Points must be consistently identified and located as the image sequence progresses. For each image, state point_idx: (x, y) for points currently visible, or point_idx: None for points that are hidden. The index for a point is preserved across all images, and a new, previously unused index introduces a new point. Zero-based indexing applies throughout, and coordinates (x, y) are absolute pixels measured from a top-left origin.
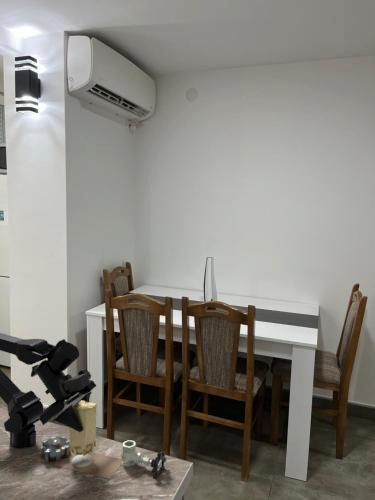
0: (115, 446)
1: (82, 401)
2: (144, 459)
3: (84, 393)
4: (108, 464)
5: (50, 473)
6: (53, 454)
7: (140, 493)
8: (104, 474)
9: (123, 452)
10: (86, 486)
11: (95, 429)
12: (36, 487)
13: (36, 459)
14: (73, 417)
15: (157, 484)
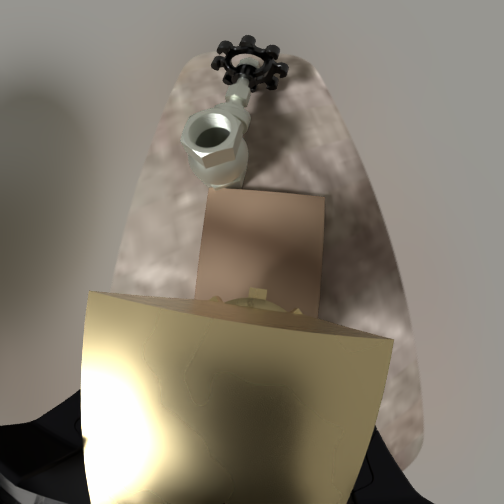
0: (124, 261)
1: (104, 493)
2: (242, 95)
3: (4, 488)
4: (250, 231)
5: None
6: None
7: (332, 112)
8: (309, 223)
9: (233, 160)
10: (359, 268)
11: (196, 300)
12: (393, 410)
13: None
14: (377, 456)
15: (283, 85)
